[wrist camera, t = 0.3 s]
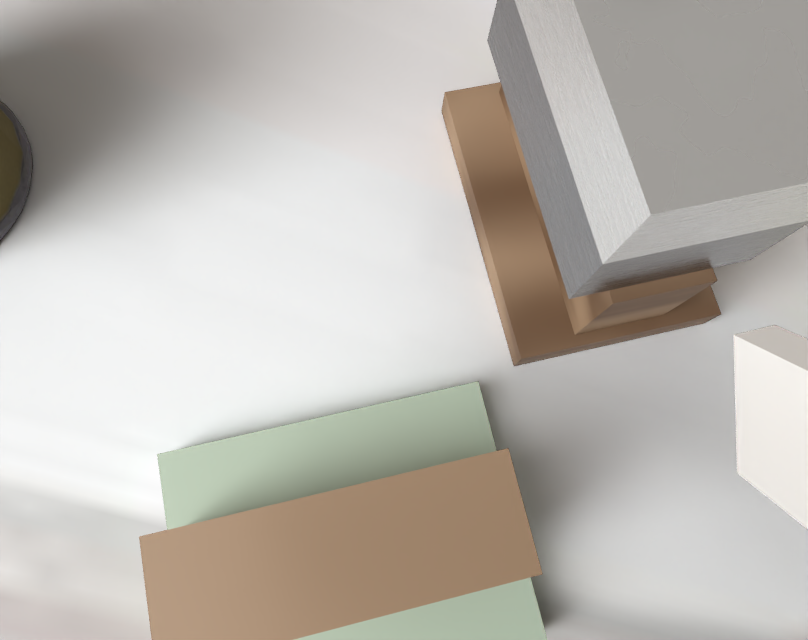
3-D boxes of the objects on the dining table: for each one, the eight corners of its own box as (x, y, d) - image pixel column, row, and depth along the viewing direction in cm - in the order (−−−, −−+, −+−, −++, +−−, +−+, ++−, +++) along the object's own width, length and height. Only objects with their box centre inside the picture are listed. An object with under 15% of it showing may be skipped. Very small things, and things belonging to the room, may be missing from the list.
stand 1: (537, 633, 25) (586, 673, 19) (205, 723, 24) (152, 795, 18) (472, 387, 28) (498, 358, 22) (169, 456, 26) (111, 445, 21)
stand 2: (704, 323, 29) (786, 279, 23) (513, 366, 28) (550, 331, 22) (614, 79, 32) (667, -12, 27) (441, 111, 31) (456, 23, 26)
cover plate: (813, 219, 20) (941, 138, 16) (602, 264, 19) (672, 192, 15) (693, -60, 23) (772, -199, 18) (504, -30, 22) (538, -166, 18)
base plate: (750, 259, 23) (813, 219, 20) (568, 299, 23) (602, 264, 19) (652, 12, 26) (693, -60, 23) (487, 40, 25) (504, -30, 22)
